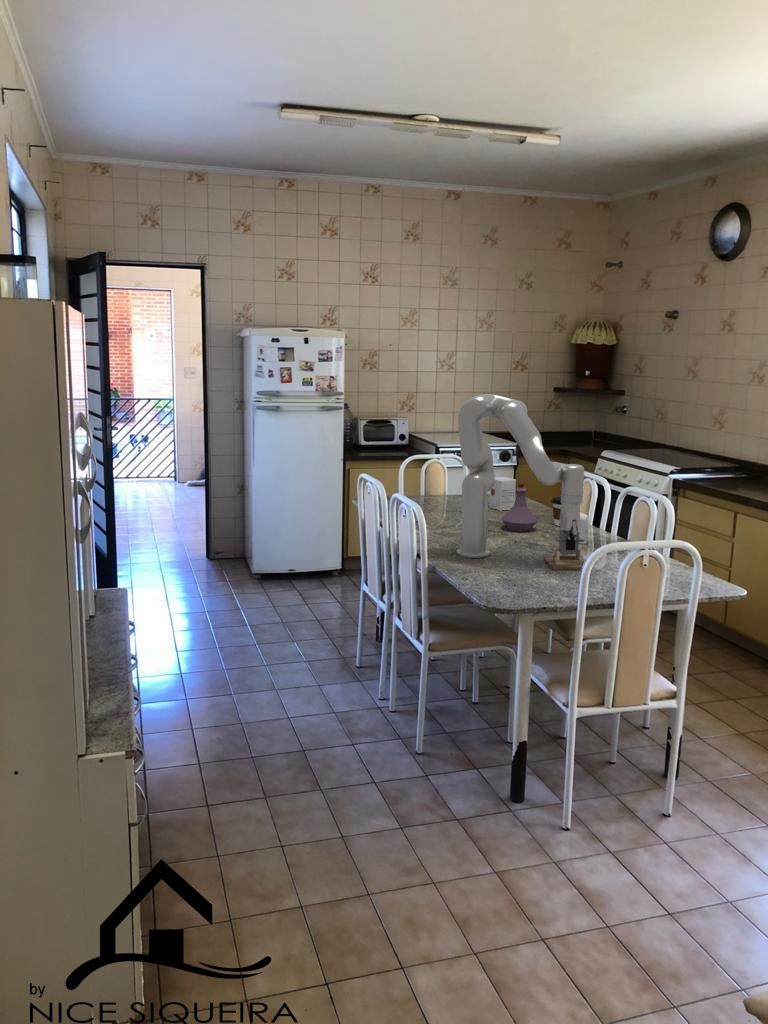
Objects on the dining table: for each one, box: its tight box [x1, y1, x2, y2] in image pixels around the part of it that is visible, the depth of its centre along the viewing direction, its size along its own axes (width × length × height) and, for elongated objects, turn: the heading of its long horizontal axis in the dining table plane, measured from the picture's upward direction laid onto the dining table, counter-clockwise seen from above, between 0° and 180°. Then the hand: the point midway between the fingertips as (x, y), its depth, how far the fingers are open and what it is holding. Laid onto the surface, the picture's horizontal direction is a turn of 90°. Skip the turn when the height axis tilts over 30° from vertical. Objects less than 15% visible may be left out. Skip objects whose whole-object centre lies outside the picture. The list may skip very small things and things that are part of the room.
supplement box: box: [488, 476, 517, 512], centre depth 391 cm, size 9×9×15 cm
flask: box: [500, 482, 538, 532], centre depth 350 cm, size 16×16×20 cm
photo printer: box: [578, 512, 590, 545], centre depth 330 cm, size 10×4×12 cm, turn 56°
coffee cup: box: [550, 496, 562, 527], centre depth 359 cm, size 11×11×12 cm
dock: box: [543, 547, 585, 571], centre depth 296 cm, size 14×14×6 cm
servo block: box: [554, 529, 584, 555], centre depth 295 cm, size 4×10×9 cm, turn 93°
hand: (568, 547), depth 295 cm, fingers closed on servo block, 4 cm apart
